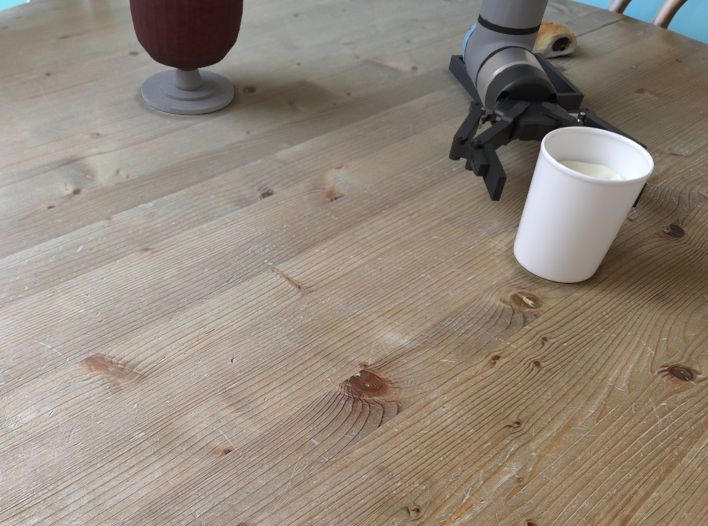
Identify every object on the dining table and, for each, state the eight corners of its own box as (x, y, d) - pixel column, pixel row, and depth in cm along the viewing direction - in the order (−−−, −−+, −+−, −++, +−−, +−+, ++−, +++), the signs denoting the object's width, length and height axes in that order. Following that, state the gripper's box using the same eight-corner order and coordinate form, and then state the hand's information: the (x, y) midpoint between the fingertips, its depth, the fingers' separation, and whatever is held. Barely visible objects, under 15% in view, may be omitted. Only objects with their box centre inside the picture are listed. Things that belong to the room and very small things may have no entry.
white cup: (498, 273, 74) (536, 165, 66) (511, 221, 81) (547, 117, 72) (602, 299, 72) (655, 191, 63) (606, 243, 78) (654, 139, 70)
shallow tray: (535, 66, 110) (539, 52, 109) (579, 108, 101) (584, 94, 100) (448, 68, 109) (451, 55, 107) (484, 112, 99) (488, 98, 98)
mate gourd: (120, 80, 102) (107, -85, 88) (212, 64, 106) (214, -95, 92) (164, 131, 92) (158, -45, 78) (264, 111, 97) (274, -59, 83)
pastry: (507, 35, 118) (514, 10, 116) (544, 33, 120) (552, 8, 117) (539, 60, 112) (548, 34, 109) (578, 57, 114) (587, 31, 111)
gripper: (608, 128, 91) (677, 230, 76) (405, 119, 91) (433, 218, 76) (633, 68, 86) (712, 164, 71) (417, 58, 86) (450, 151, 71)
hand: (568, 192), depth 73 cm, fingers open, 13 cm apart
